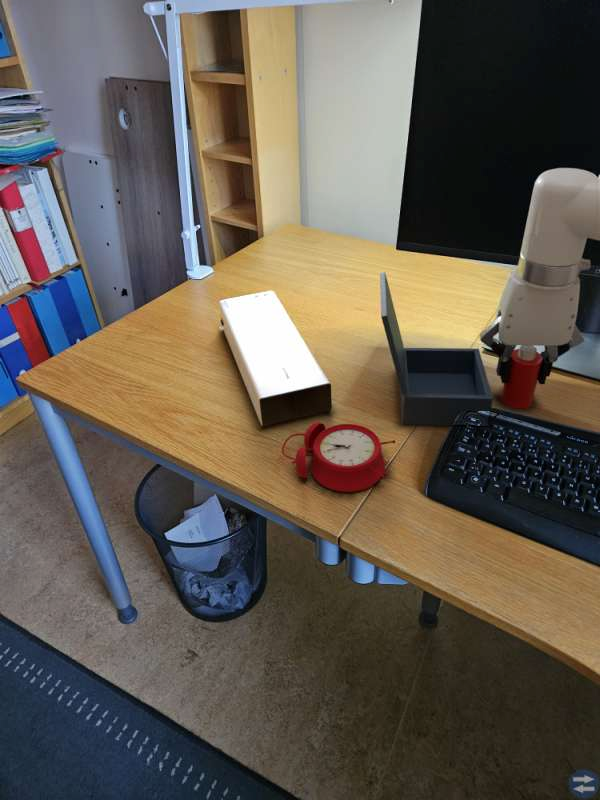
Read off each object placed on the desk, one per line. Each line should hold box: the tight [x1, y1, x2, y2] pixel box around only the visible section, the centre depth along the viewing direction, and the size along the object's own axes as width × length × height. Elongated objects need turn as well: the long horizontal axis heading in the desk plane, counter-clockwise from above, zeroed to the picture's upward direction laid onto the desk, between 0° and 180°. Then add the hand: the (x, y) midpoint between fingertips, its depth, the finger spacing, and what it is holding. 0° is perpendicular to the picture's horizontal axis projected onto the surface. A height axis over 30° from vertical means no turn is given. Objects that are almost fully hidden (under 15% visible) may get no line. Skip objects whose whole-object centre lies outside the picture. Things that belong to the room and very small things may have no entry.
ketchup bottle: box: [500, 345, 543, 410], centre depth 86 cm, size 5×5×10 cm
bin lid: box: [379, 272, 407, 395], centre depth 83 cm, size 13×14×1 cm
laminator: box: [218, 289, 333, 428], centre depth 98 cm, size 34×12×6 cm, turn 17°
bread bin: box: [399, 347, 494, 427], centre depth 88 cm, size 13×14×5 cm
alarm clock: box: [281, 421, 396, 493], centre depth 78 cm, size 10×6×15 cm
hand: (521, 377), depth 86 cm, fingers open, 4 cm apart
